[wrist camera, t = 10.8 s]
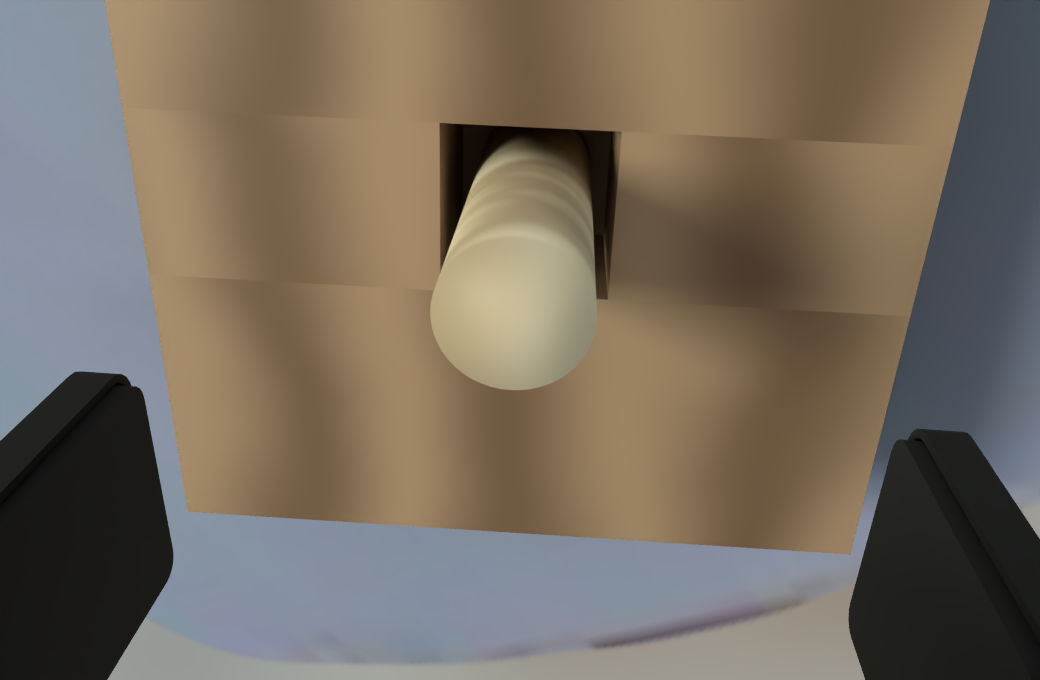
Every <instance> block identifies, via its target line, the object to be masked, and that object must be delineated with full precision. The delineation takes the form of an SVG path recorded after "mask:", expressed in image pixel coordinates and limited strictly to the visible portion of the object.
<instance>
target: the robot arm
mask: <svg viewBox="0 0 1040 680" xmlns="http://www.w3.org/2000/svg"><path fill="white" fill-rule="evenodd" d="M172 565H173V548H172V542H171V537H170V532H169V526H168V521H167V516H166V511H165V505H164V500H163V495H162V489H161V484H160V479H159V474H158V468H157V463H156V458H155V452H154V447H153V442H152V437H151V431H150V426H149V421H148V415H147V410H146V405H145V400H144V396H143V393H142V391H141V390H140V388H138V387H133V386H131V384H130V382H129V380H128V379H127V377H125V376H124V375H122V374H109V373H95V372H75V373H73V374H71V375H70V376H69V377H68V378H67V379H65V380H64V381H63V382H62V383H61V384H60V385H59V386H58V387H57V388H56V389H55V390H54V391H53V392H52V393H51V394H50V395H49V396H47V397H46V398H45V399H44V400H43V401H42V402H41V403H40V404H39V405H38V406H37V407H36V408H35V409H34V410H33V411H32V412H31V413H29V414H28V415H27V416H26V417H25V418H24V419H23V420H22V421H21V422H20V423H19V424H18V425H17V426H16V427H15V428H14V429H13V430H11V431H10V432H9V433H8V434H7V435H6V436H5V437H4V438H3V439H2V440H1V441H0V680H107V679H108V678H109V676H110V674H111V673H112V671H113V669H114V668H115V666H116V664H117V663H118V661H119V659H120V658H121V656H122V655H123V653H124V651H125V650H126V648H127V646H128V645H129V643H130V641H131V640H132V638H133V636H134V635H135V633H136V632H137V630H138V628H139V626H140V625H141V624H142V622H143V620H144V619H145V617H146V615H147V614H148V612H149V610H150V609H151V607H152V606H153V604H154V602H155V601H156V599H157V597H158V596H159V594H160V592H161V591H162V589H163V588H164V586H165V584H166V583H167V581H168V579H169V577H170V573H171V570H172ZM849 629H850V634H851V638H852V641H853V644H854V647H855V650H856V653H857V656H858V659H859V662H860V665H861V668H862V671H863V674H864V677H865V680H1040V539H1039V537H1038V536H1037V534H1036V533H1035V531H1034V530H1033V528H1032V527H1031V525H1030V524H1029V522H1028V521H1027V520H1026V518H1025V516H1024V515H1023V513H1022V512H1021V510H1020V509H1019V507H1018V506H1017V504H1016V503H1015V501H1014V500H1013V498H1012V497H1011V495H1010V494H1009V492H1008V491H1007V489H1006V488H1005V486H1004V485H1003V483H1002V482H1001V481H1000V479H999V478H998V476H997V475H996V473H995V472H994V470H993V469H992V467H991V466H990V464H989V463H988V461H987V460H986V458H985V457H984V455H983V454H982V452H981V451H980V449H979V448H978V446H977V445H976V443H975V442H974V440H973V439H972V437H971V436H970V435H969V434H968V433H965V432H955V431H941V430H926V429H916V430H915V431H913V432H912V434H911V435H910V436H909V439H908V440H898V441H896V443H895V444H894V446H893V449H892V452H891V455H890V459H889V463H888V466H887V470H886V474H885V477H884V481H883V485H882V488H881V492H880V496H879V499H878V503H877V507H876V511H875V514H874V518H873V522H872V525H871V529H870V533H869V536H868V540H867V544H866V547H865V551H864V555H863V558H862V562H861V566H860V569H859V573H858V577H857V580H856V584H855V588H854V591H853V595H852V599H851V603H850V608H849Z"/></svg>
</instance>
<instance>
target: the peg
mask: <svg viewBox="0 0 1040 680" xmlns="http://www.w3.org/2000/svg"><path fill="white" fill-rule="evenodd" d="M430 317H431V325H432V329H433V333H434V336H435V339H436V341H437V343H438V345H439V347H440V349H441V351H442V352H443V353H444V355H445V356H446V358H447V359H448V360H449V361H450V362H451V363H452V364H453V365H454V366H455V367H456V368H457V369H458V370H459V371H461V372H462V373H463V374H465V375H466V376H468V377H469V378H471V379H473V380H475V381H477V382H479V383H481V384H484V385H487V386H490V387H494V388H498V389H505V390H528V389H534V388H538V387H542V386H545V385H548V384H551V383H553V382H555V381H557V380H559V379H561V378H562V377H564V376H565V375H567V374H568V373H569V372H571V371H572V370H573V369H574V368H575V367H576V366H577V365H578V364H579V363H580V362H581V360H582V359H583V358H584V356H585V355H586V353H587V352H588V350H589V348H590V346H591V344H592V342H593V339H594V335H595V332H596V325H597V301H596V279H595V257H594V235H593V212H592V190H591V168H590V154H589V149H588V145H587V142H586V140H585V138H584V136H583V134H582V133H581V131H580V130H577V129H556V128H535V127H514V126H497V127H496V128H495V130H494V131H493V132H492V134H491V136H490V138H489V140H488V142H487V145H486V148H485V150H484V153H483V156H482V159H481V162H480V164H479V167H478V170H477V173H476V175H475V178H474V181H473V184H472V186H471V189H470V192H469V195H468V198H467V200H466V203H465V206H464V209H463V211H462V214H461V217H460V220H459V222H458V225H457V228H456V231H455V233H454V236H453V239H452V242H451V245H450V247H449V250H448V253H447V256H446V258H445V261H444V264H443V267H442V269H441V272H440V275H439V278H438V281H437V283H436V286H435V289H434V292H433V295H432V300H431V308H430Z"/></svg>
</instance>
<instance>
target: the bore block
mask: <svg viewBox="0 0 1040 680" xmlns="http://www.w3.org/2000/svg"><path fill="white" fill-rule="evenodd" d="M989 3H990V0H105V5H106V11H107V18H108V24H109V30H110V36H111V42H112V48H113V54H114V61H115V67H116V73H117V79H118V85H119V91H120V97H121V104H122V110H123V116H124V122H125V128H126V134H127V140H128V147H129V153H130V159H131V165H132V171H133V177H134V183H135V190H136V196H137V202H138V208H139V214H140V220H141V226H142V233H143V239H144V245H145V251H146V257H147V263H148V269H149V276H150V282H151V288H152V294H153V300H154V306H155V312H156V319H157V325H158V331H159V337H160V343H161V349H162V356H163V362H164V368H165V374H166V380H167V386H168V392H169V399H170V405H171V411H172V417H173V423H174V429H175V435H176V442H177V448H178V454H179V460H180V466H181V472H182V478H183V485H184V491H185V497H186V503H187V509H188V512H203V513H218V514H234V515H249V516H265V517H280V518H296V519H311V520H327V521H342V522H358V523H373V524H389V525H404V526H420V527H435V528H451V529H466V530H482V531H497V532H513V533H528V534H544V535H559V536H575V537H590V538H606V539H621V540H637V541H652V542H668V543H683V544H699V545H714V546H730V547H745V548H761V549H776V550H792V551H807V552H823V553H838V554H851V550H852V546H853V542H854V538H855V534H856V530H857V526H858V522H859V518H860V514H861V510H862V506H863V502H864V498H865V494H866V490H867V486H868V482H869V478H870V474H871V470H872V466H873V462H874V459H875V455H876V451H877V447H878V443H879V439H880V435H881V431H882V427H883V423H884V419H885V415H886V411H887V407H888V403H889V399H890V395H891V391H892V387H893V383H894V379H895V375H896V371H897V367H898V364H899V360H900V356H901V352H902V348H903V344H904V340H905V336H906V332H907V328H908V324H909V320H910V316H911V312H912V308H913V304H914V300H915V296H916V292H917V288H918V284H919V280H920V276H921V272H922V269H923V265H924V261H925V257H926V253H927V249H928V245H929V241H930V237H931V233H932V229H933V225H934V221H935V217H936V213H937V209H938V205H939V201H940V197H941V193H942V189H943V185H944V181H945V177H946V173H947V170H948V166H949V162H950V158H951V154H952V150H953V146H954V142H955V138H956V134H957V130H958V126H959V122H960V118H961V114H962V110H963V106H964V102H965V98H966V94H967V90H968V86H969V82H970V78H971V75H972V71H973V67H974V63H975V59H976V55H977V51H978V47H979V43H980V39H981V35H982V31H983V27H984V23H985V19H986V15H987V11H988V7H989ZM497 126H514V127H535V128H556V129H577V130H580V131H581V133H582V134H583V136H584V138H585V140H586V142H587V145H588V149H589V154H590V168H591V190H592V212H593V235H594V257H595V279H596V301H597V325H596V332H595V335H594V339H593V342H592V344H591V346H590V348H589V350H588V352H587V353H586V355H585V356H584V358H583V359H582V360H581V362H580V363H579V364H578V365H577V366H576V367H575V368H574V369H573V370H572V371H571V372H569V373H568V374H567V375H565V376H564V377H562V378H561V379H559V380H557V381H555V382H553V383H551V384H548V385H545V386H542V387H538V388H534V389H528V390H505V389H498V388H494V387H490V386H487V385H484V384H481V383H479V382H477V381H475V380H473V379H471V378H469V377H468V376H466V375H465V374H463V373H462V372H461V371H459V370H458V369H457V368H456V367H455V366H454V365H453V364H452V363H451V362H450V361H449V360H448V359H447V358H446V356H445V355H444V353H443V352H442V351H441V349H440V347H439V345H438V343H437V341H436V339H435V336H434V333H433V329H432V325H431V317H430V308H431V300H432V295H433V292H434V289H435V286H436V283H437V281H438V278H439V275H440V272H441V269H442V267H443V264H444V261H445V258H446V256H447V253H448V250H449V247H450V245H451V242H452V239H453V236H454V233H455V231H456V228H457V225H458V222H459V220H460V217H461V214H462V211H463V209H464V206H465V203H466V200H467V198H468V195H469V192H470V189H471V186H472V184H473V181H474V178H475V175H476V173H477V170H478V167H479V164H480V162H481V159H482V156H483V153H484V150H485V148H486V145H487V142H488V140H489V138H490V136H491V134H492V132H493V131H494V130H495V128H496V127H497Z"/></svg>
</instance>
